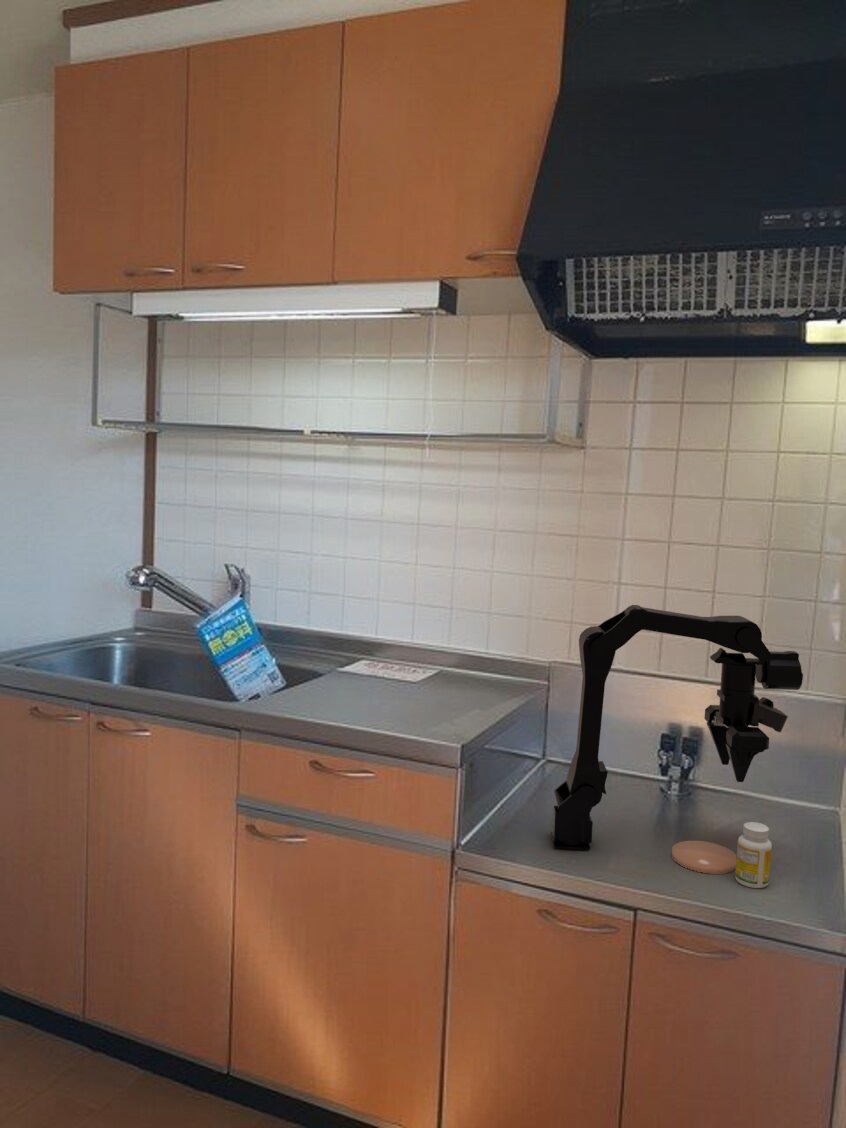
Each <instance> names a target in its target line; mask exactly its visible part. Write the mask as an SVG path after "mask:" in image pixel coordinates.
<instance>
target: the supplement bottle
mask: <svg viewBox="0 0 846 1128" xmlns="http://www.w3.org/2000/svg"><path fill="white" fill-rule="evenodd" d="M742 833H743V834H741V835H739V837H738V838H737V839H738V840H737V846H736V847H737V848H736V849H737V850H736V856H737V860H736V869H735V872H734V873H735V875H734V876H735V879H736V882H738V883H739V884H741V885H743V886H745V887H748V888H751V889H752V888H753V889H762V888H766V887H767V886H769V883H770V874H771V873H770V872H771V861H772V851H773V850H772V849H773V845H772V841H771V840H770V839H769V838H768V837H769V836H770V835H769V834H770V828H769V827H768V826H767V825H765V824H764V823H760V822H756V821H747V822H744V823H743V825H742Z"/></svg>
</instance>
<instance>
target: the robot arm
mask: <svg viewBox="0 0 846 1128" xmlns="http://www.w3.org/2000/svg"><path fill="white" fill-rule="evenodd" d="M642 630H643V631H648V632H650V631H651V632H656V633H661V634H667V635H674V636H681V637H687V638H692V639H698V640H699V639H700V640H705V641H708V642H711V643H713V644H715V645H718V646H721V647H719V649H717V651H715V652H714V653H712V655H710V656H709V659H710V660H711V661H713V662H714V663H715V664H721V671H720V672H721V674H720V675H721V676H720V677H721V678H720V689H718V688H717V689H716V695H717V697H719V704H710V705H708V706H707V707H706V708H705V709H704V720H705V721H706V726H707V729H708V730H709V733H710V736H711V738H712V741H713V744H714V747H715V749H716V752H717V754H718V757H719V759H720V763H721V764H722V765H724V766H727V765H729V764H731V767H732V771H733V773H734V777H735V778H734V779H735V781H736V782H737V783H743V782H745V778H746V776H747V774H748V771H749V768H750V766H751V763H752V761H753V759H754V757H755V756H757V755H758V754H760V753H764V751H766V750H770V749H769V748H770V747H769V745H770V737H769V736H767V734H766V733H765V732H764V731H763V730H762V729H761V728H759V726H760V725H763V726H766V727H769V728H770V729H773V730H774V731H775V732H778V733H781V732H782V730H783V728H784V727H785V724H786V722H787V719H788V717H789V716H788V715H787V714H786V713H784V712H783V711H781V710H780V709H778V708H776V707H774V701H773V700H771V699H769V698H767V697H765V696H762V697H761V698H759V697H758V696H757V695H756V694H755V691H756V690H755V687H756V681H757V683H758V684H761V686H762V688H763V689H765V690H786V691H787V690H788V691H789V690H790V691H791V690H792V691H798V690H800V689H801V687H802V684H803V681H804V680H803V679H804V673H803V671H802V664H801V662H800V659H799V657H800V654H799V652H796V651H795V650H785V651H771V650H769V649H768V648H767V646H766V645H765V642H763V637H762V636H763V634H762V631H761V628H760V627H759V626H758V624H757V623H755V622H754V621H751V619H747V618H746V617H744V616H741V615H715V616H700V615H693V614H686V613H681V612H675V611H670V610H669V611H668V610H662V609H655V608H650V607H644V606H641V605H638V604H631V605H629V606H628V607H627V608H625V609H624V610H622V611H621V612H619V613H618V614H616V615H613V616H611V617H610V618H608V619H606V620H604V621H603V622H602V623H600V624H599V625H598V626H596V625H595V626H589V627H587V628H585V629H584V630H583V631H581V633H580V635H579V638H578V647H579V648H578V649H579V659H580V660H579V661H580V666H581V667H580V668H581V673H582V674H581V675H582V682H581V691H580V692H581V693H580V704H579V716H578V723H577V724H578V727H577V736H576V737H577V738H576V748H575V752H574V754H573V757H572V759H571V762H570V764H569V768H568V772H567V776H566V779H565V781H563V782H562V783H561V784H560V785H559V786H558V787H557V788H555V789H554V791H553V793H554V796H555V801H556V805H553V813H552V814H553V815H552V816H553V817H552V831H550V838H551V841H552V847H553V848H554V849H559V850H560V849H561V850H579V851H581V850H583V851H590V850H591V846H590V844H592V842H593V824H594V823H593V819H592V816H591V812H592V810H593V808H594V807H596V806H597V805H599V804H600V802H601V801H602V797H603V794H604V795H606V794H607V791H606V781H607V779H608V769H607V768H606V766H605V763H604V761H603V760H601V761H599V753H600V752H599V750H600V741H601V729H602V728H601V727H602V722H603V721H602V718H603V708H604V699H605V698H604V696H605V689H606V688H605V686H606V681H607V679H608V676H609V674H610V671H611V669H612V666H613V662H614V658H615V655H616V652H617V650H619V649H620V648H621V647H623V646H624V645H626V644H627V643H628V642H629V641H630V640H631V639H633V637H634V636H635V635H637V634H638V633H639V632H641V631H642ZM724 648H726V649H730V650H732V651H735V652H726V650H725V649H724ZM744 654H750V655H752V656H754V657H755V658H754V657H753V658H751V657H746V656H745V655H744Z"/></svg>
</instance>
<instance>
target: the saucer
mask: <svg viewBox="0 0 846 1128" xmlns="http://www.w3.org/2000/svg"><path fill="white" fill-rule="evenodd" d="M671 858H672V860H673V861H674V862H675V863H676V862H677V863H678V864H677V863H676V864H677V865H679V864H680V865H681V866H680V865H679V866H680V867H682V866H683V867H682V868H684V867H685V869H687V868H688V869H687V870H689V869H690V871H692V870H694V871H693V872H696V871H697V872H696V873H700V872H703V873H702V874H706V873H708V874H707V875H723V874H724V875H725V874H729V873H732V872H734V871H736V860H737V854H736V853H735V852H733V851H732V850H731V849H729V848H727V847H725V846H722V845H720V844H717V843H713V842H708V841H704V840H703V841H702V840H684V841H680V842H677V843H675V844H674V845H673V846H672V847H671ZM709 873H710V874H709Z"/></svg>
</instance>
